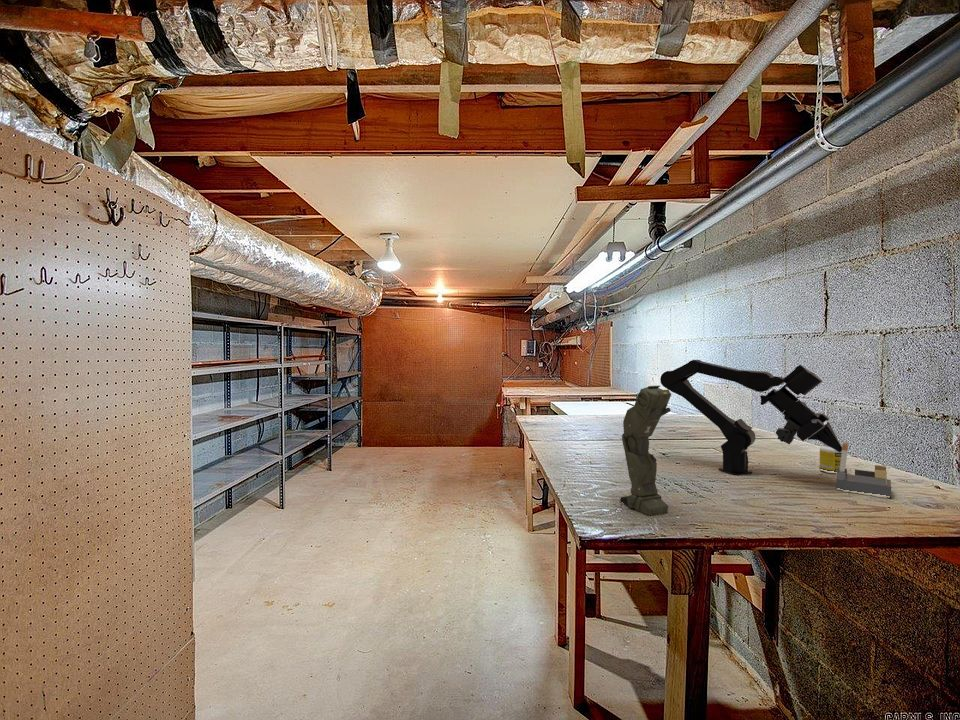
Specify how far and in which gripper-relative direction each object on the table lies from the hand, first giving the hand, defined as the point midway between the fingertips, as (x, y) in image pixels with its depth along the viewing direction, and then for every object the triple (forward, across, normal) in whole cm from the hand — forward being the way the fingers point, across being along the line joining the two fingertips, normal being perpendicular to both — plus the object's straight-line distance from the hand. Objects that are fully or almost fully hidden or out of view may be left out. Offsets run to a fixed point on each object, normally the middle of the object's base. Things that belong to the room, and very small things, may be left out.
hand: (841, 451), depth 117 cm
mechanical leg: (-16, +48, -31) cm, 60 cm away
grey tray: (+10, 0, -4) cm, 11 cm away
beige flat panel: (+4, 0, -4) cm, 6 cm away
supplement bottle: (+5, -18, -9) cm, 20 cm away
